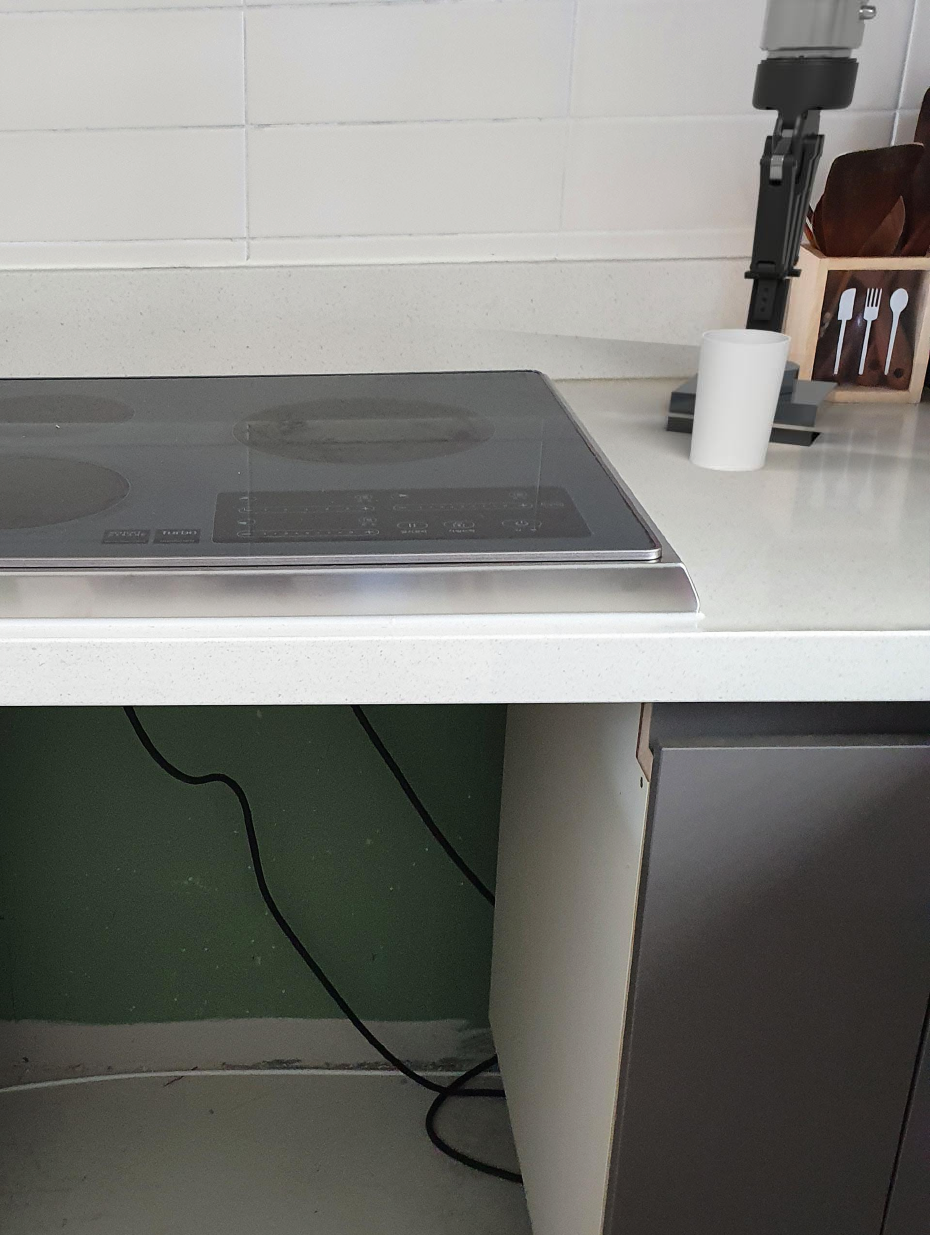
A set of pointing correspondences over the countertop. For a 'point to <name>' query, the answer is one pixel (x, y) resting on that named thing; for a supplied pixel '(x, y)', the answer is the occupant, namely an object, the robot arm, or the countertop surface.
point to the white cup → (737, 397)
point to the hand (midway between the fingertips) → (759, 356)
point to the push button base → (794, 406)
